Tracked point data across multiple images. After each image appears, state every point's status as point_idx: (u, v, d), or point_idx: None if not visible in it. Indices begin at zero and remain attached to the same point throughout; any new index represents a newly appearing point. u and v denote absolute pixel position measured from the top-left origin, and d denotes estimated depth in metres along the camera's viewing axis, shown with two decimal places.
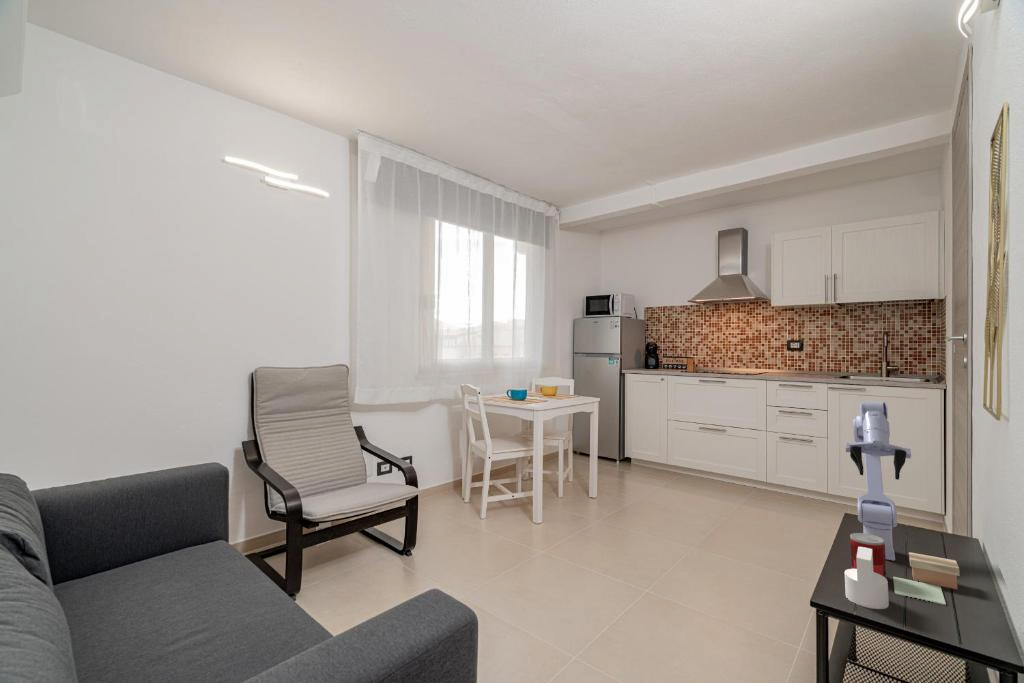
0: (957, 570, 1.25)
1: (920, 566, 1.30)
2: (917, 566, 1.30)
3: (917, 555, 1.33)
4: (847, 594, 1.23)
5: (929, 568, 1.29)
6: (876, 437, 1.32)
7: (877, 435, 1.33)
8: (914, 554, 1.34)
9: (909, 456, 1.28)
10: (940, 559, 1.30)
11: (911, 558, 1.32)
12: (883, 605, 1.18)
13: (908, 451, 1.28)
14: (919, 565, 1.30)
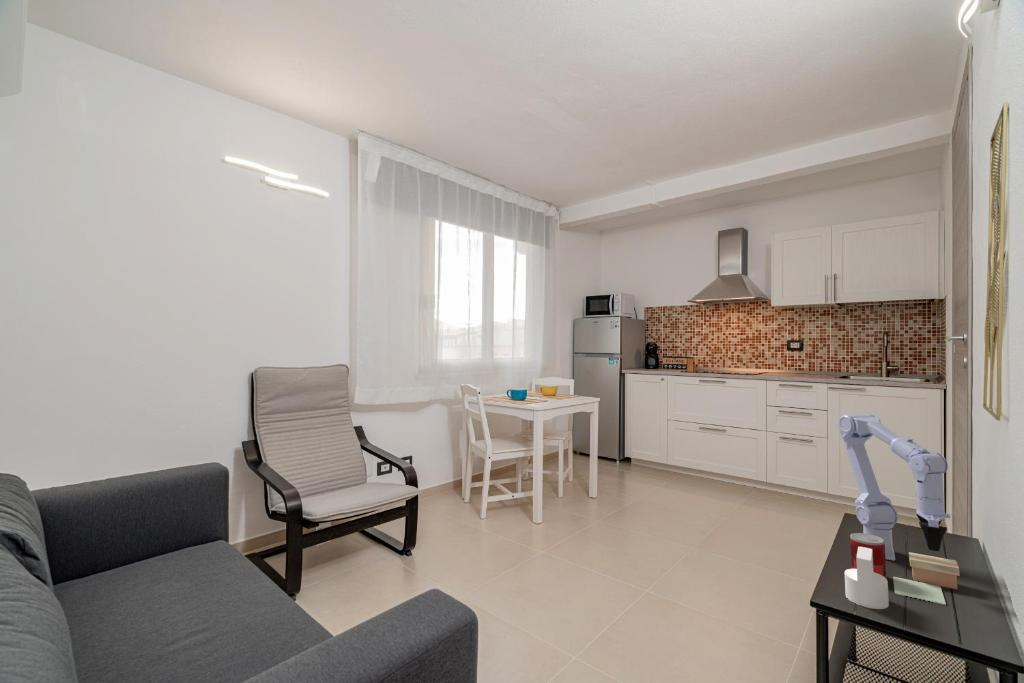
0: (957, 570, 1.25)
1: (920, 566, 1.30)
2: (917, 566, 1.30)
3: (917, 555, 1.33)
4: (847, 594, 1.23)
5: (929, 568, 1.29)
6: None
7: (943, 506, 1.29)
8: (914, 554, 1.34)
9: None
10: (940, 559, 1.30)
11: (911, 558, 1.32)
12: (883, 605, 1.18)
13: None
14: (919, 565, 1.30)
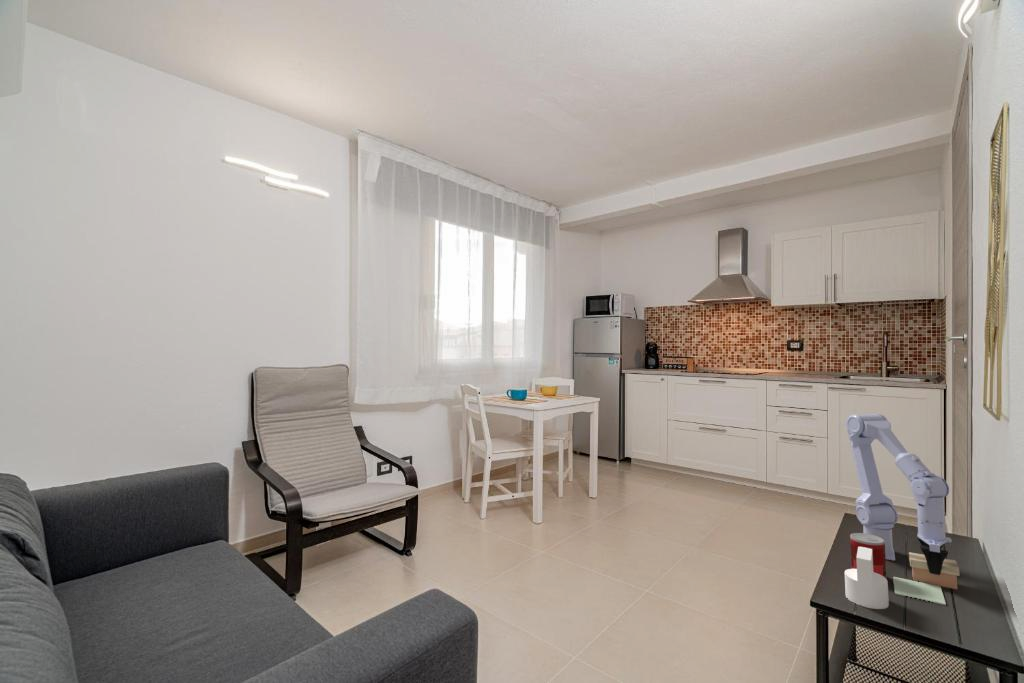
0: (957, 570, 1.25)
1: (920, 566, 1.30)
2: (917, 566, 1.30)
3: (917, 555, 1.33)
4: (847, 594, 1.23)
5: None
6: None
7: None
8: (914, 554, 1.34)
9: None
10: None
11: (911, 558, 1.32)
12: (883, 605, 1.18)
13: None
14: (919, 565, 1.30)
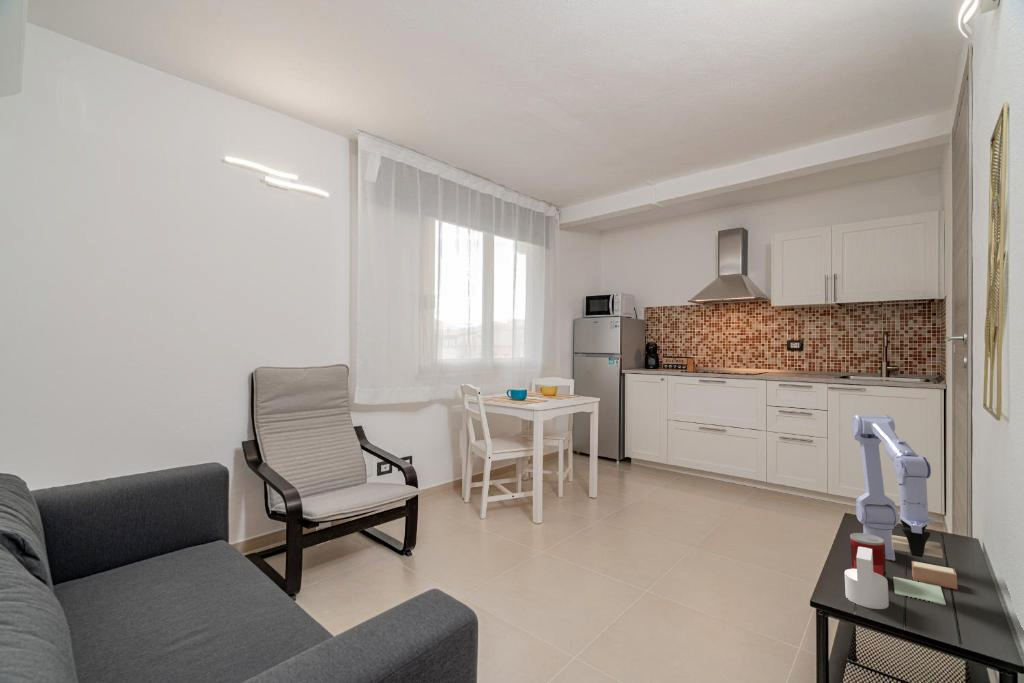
0: (940, 552, 1.21)
1: (903, 549, 1.25)
2: (899, 549, 1.26)
3: (900, 538, 1.29)
4: (847, 594, 1.23)
5: None
6: None
7: (927, 511, 1.25)
8: (896, 537, 1.29)
9: None
10: None
11: (893, 541, 1.27)
12: (883, 605, 1.18)
13: None
14: (901, 548, 1.25)
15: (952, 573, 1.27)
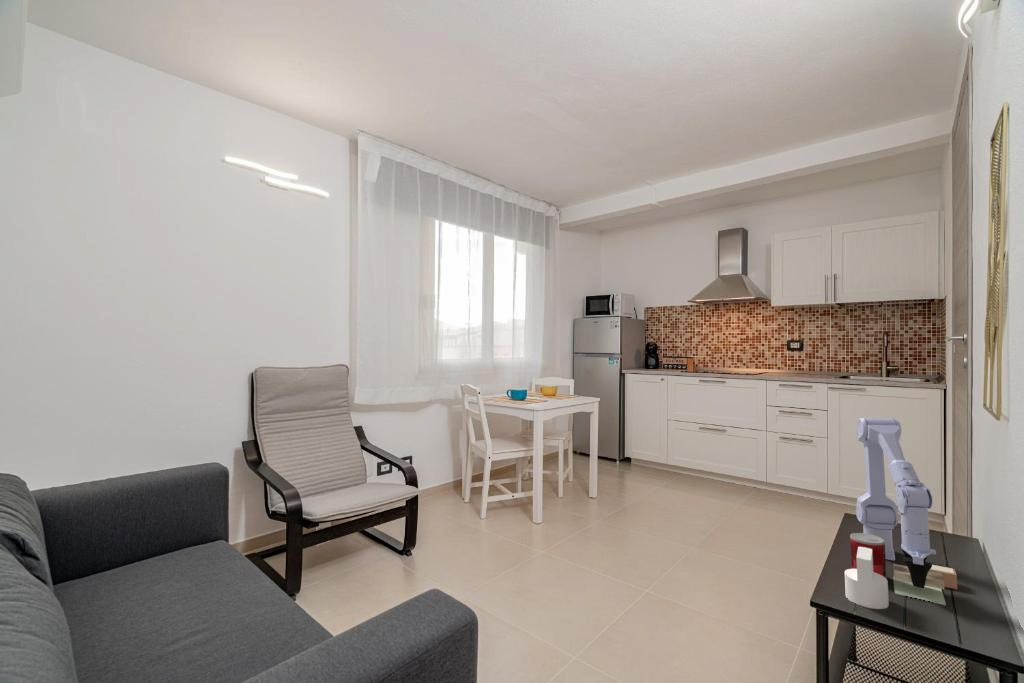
0: (942, 583, 1.21)
1: (904, 579, 1.25)
2: (901, 579, 1.25)
3: (901, 567, 1.29)
4: (847, 594, 1.23)
5: None
6: (929, 544, 1.24)
7: (929, 541, 1.24)
8: (898, 566, 1.29)
9: None
10: None
11: (895, 570, 1.27)
12: (883, 605, 1.18)
13: None
14: (903, 578, 1.25)
15: (952, 573, 1.27)
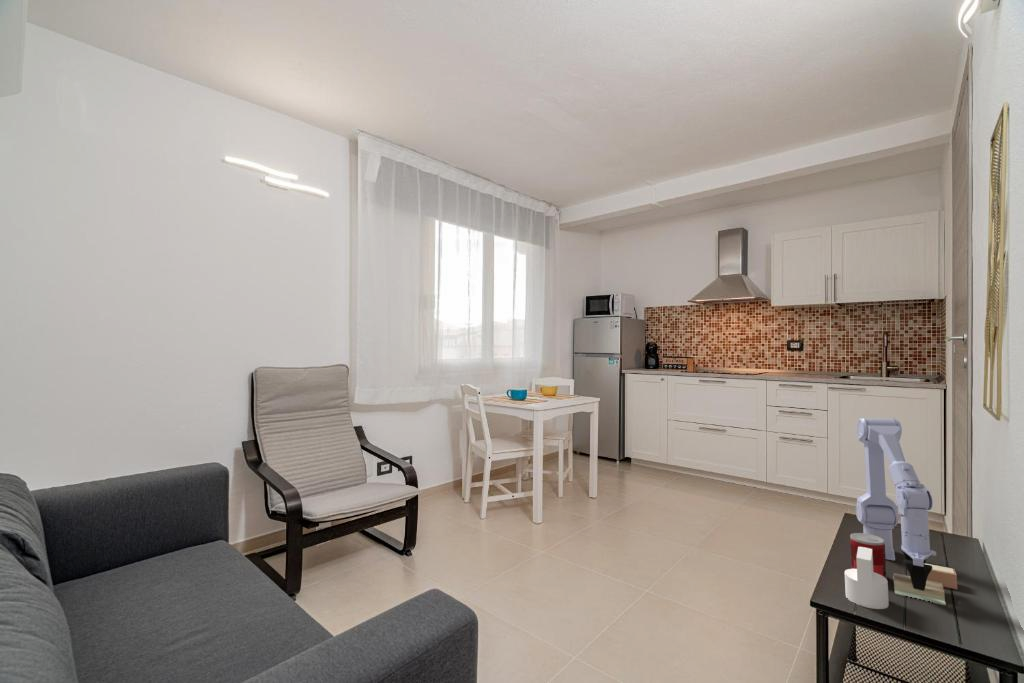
0: (942, 594, 1.20)
1: (905, 588, 1.25)
2: (901, 588, 1.25)
3: (902, 576, 1.29)
4: (847, 594, 1.23)
5: (913, 591, 1.24)
6: (929, 546, 1.24)
7: (929, 542, 1.24)
8: (898, 576, 1.29)
9: None
10: None
11: (895, 580, 1.27)
12: (883, 605, 1.18)
13: None
14: (903, 588, 1.25)
15: (952, 573, 1.27)
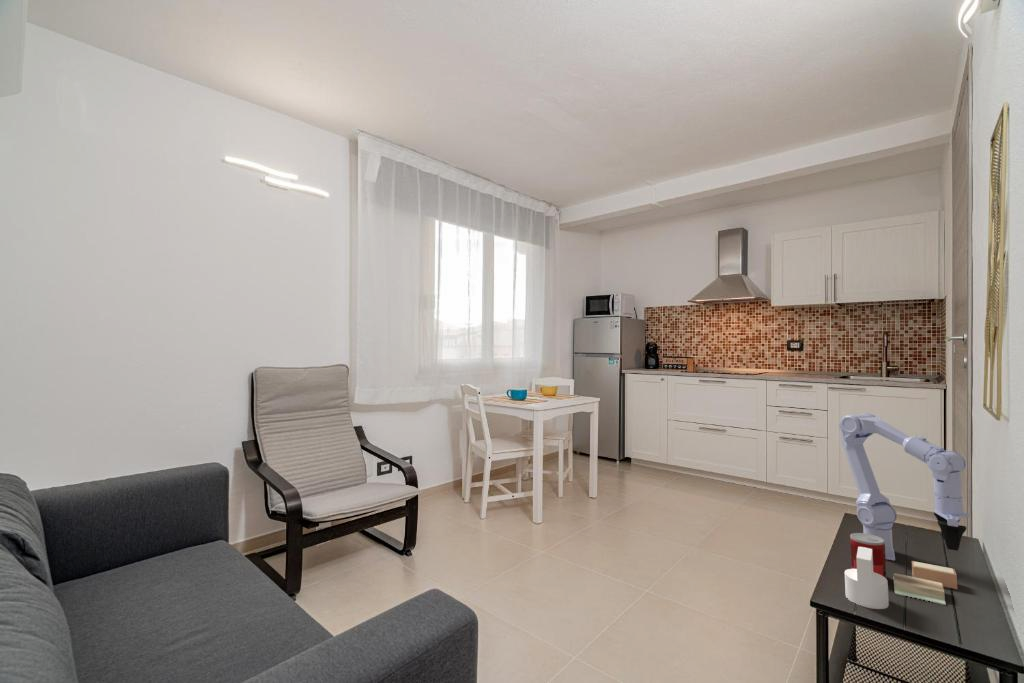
0: (942, 594, 1.20)
1: (905, 588, 1.25)
2: (901, 588, 1.25)
3: (902, 576, 1.29)
4: (847, 594, 1.23)
5: (913, 591, 1.24)
6: (962, 508, 1.28)
7: (962, 505, 1.29)
8: (898, 576, 1.29)
9: None
10: (925, 582, 1.25)
11: (895, 580, 1.27)
12: (883, 605, 1.18)
13: None
14: (903, 588, 1.25)
15: (952, 573, 1.27)
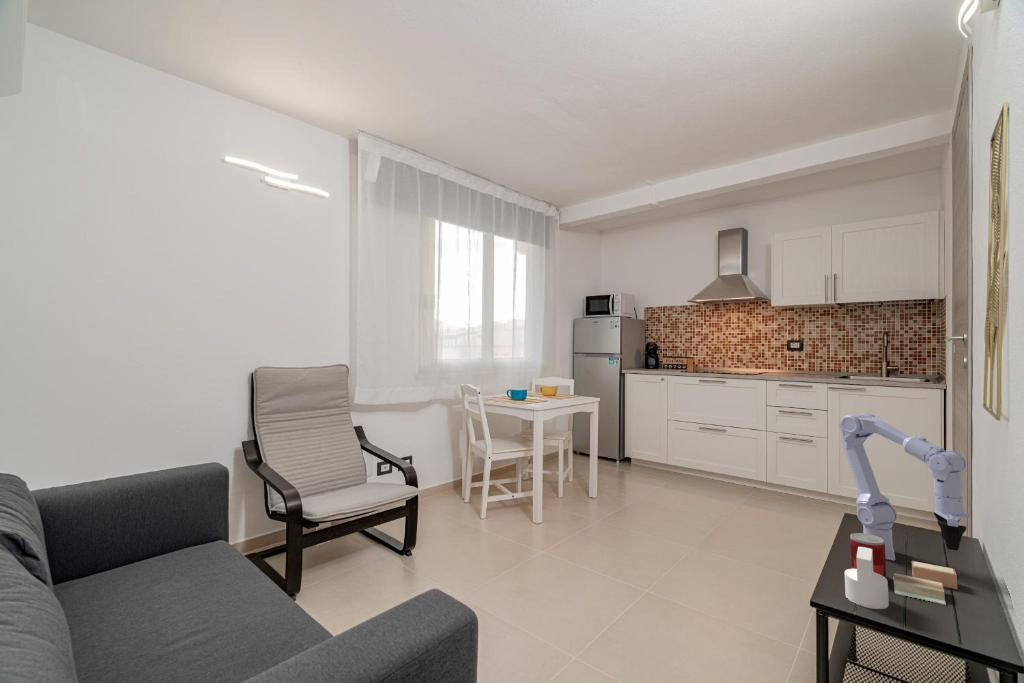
0: (942, 594, 1.20)
1: (905, 588, 1.25)
2: (901, 588, 1.25)
3: (902, 576, 1.29)
4: (847, 594, 1.23)
5: (913, 591, 1.24)
6: (962, 508, 1.28)
7: (962, 505, 1.29)
8: (898, 576, 1.29)
9: None
10: (925, 582, 1.25)
11: (895, 580, 1.27)
12: (883, 605, 1.18)
13: None
14: (903, 588, 1.25)
15: (952, 573, 1.27)
